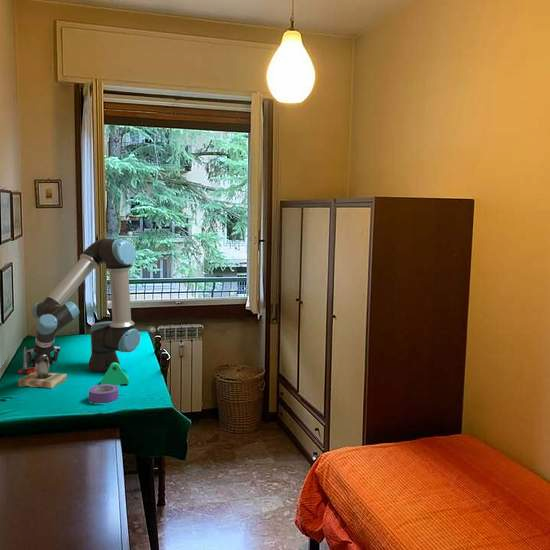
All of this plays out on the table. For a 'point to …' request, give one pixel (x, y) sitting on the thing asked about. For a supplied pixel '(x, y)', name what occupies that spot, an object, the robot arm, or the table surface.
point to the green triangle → (115, 376)
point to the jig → (43, 380)
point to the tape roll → (103, 393)
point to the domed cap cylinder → (42, 367)
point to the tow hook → (25, 369)
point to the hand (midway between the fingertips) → (41, 368)
